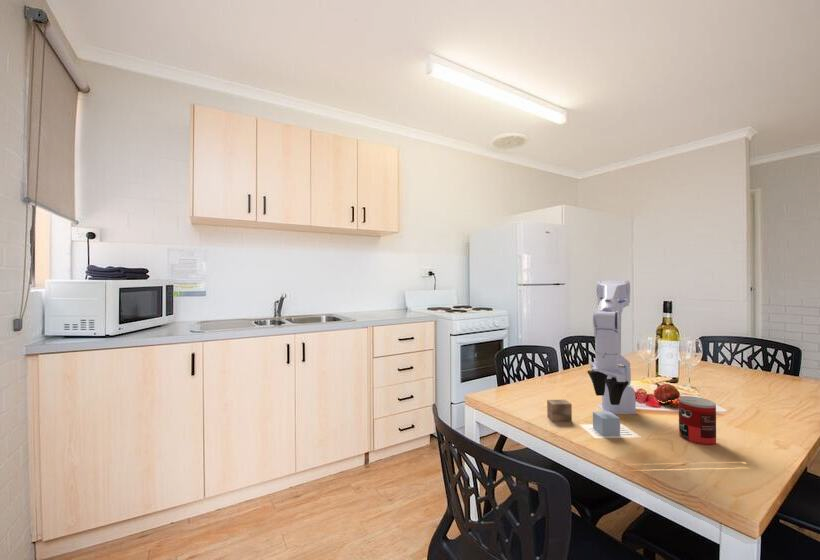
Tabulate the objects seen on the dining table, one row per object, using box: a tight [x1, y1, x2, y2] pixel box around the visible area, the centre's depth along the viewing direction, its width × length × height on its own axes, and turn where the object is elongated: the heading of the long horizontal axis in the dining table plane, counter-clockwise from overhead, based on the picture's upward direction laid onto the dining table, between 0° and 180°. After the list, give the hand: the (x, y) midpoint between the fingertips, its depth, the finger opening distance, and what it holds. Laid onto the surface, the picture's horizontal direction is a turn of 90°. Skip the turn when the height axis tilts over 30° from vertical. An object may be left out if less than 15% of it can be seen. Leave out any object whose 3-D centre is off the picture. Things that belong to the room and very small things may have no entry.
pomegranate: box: [653, 382, 681, 403], centre depth 124 cm, size 7×7×10 cm
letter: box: [579, 423, 641, 439], centre depth 103 cm, size 13×9×1 cm
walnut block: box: [546, 399, 573, 423], centre depth 111 cm, size 6×4×6 cm, turn 91°
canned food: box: [678, 395, 717, 446], centre depth 97 cm, size 8×8×11 cm
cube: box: [592, 410, 621, 436], centre depth 102 cm, size 5×5×5 cm
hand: (607, 399), depth 101 cm, fingers open, 7 cm apart
